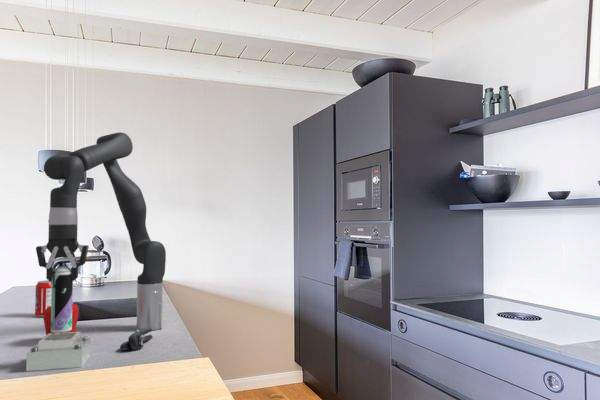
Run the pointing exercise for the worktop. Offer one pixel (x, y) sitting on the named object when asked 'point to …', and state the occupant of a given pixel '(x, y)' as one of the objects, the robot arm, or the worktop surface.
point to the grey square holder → (59, 352)
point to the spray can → (61, 299)
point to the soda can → (42, 297)
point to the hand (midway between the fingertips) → (62, 280)
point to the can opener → (136, 340)
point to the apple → (48, 319)
